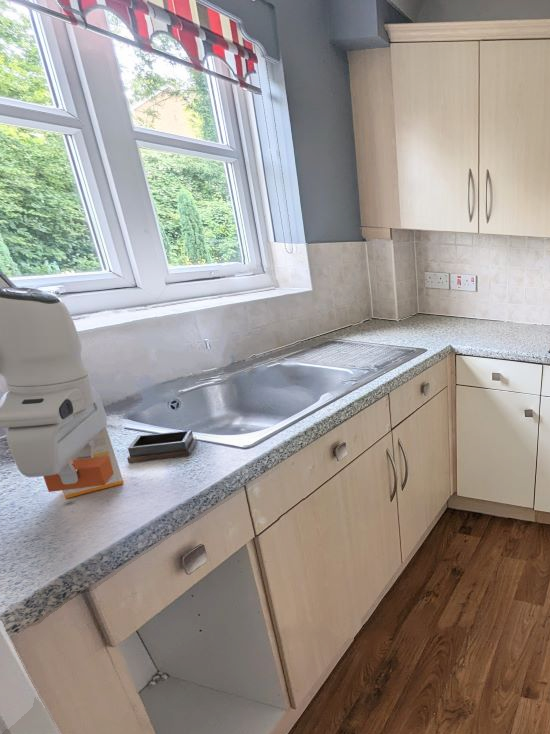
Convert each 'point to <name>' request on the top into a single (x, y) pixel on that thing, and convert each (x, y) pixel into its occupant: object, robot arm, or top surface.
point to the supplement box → (100, 449)
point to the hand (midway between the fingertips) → (79, 474)
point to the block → (84, 474)
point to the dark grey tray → (161, 446)
